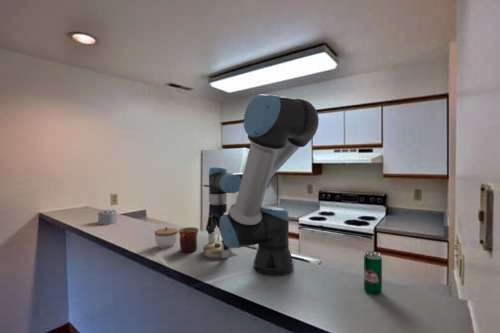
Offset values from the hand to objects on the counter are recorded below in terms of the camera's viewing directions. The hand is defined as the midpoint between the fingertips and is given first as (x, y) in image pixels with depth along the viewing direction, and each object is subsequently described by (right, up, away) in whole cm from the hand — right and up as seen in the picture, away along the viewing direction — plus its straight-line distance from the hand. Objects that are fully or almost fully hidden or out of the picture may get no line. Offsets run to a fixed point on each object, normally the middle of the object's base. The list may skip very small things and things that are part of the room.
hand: (218, 252), depth 116 cm
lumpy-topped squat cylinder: (-82, -1, +65) cm, 104 cm away
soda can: (+52, -2, -33) cm, 61 cm away
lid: (0, -1, 0) cm, 1 cm away
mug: (-14, -2, +3) cm, 15 cm away
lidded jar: (-26, -2, +13) cm, 30 cm away
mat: (0, -2, 0) cm, 2 cm away
